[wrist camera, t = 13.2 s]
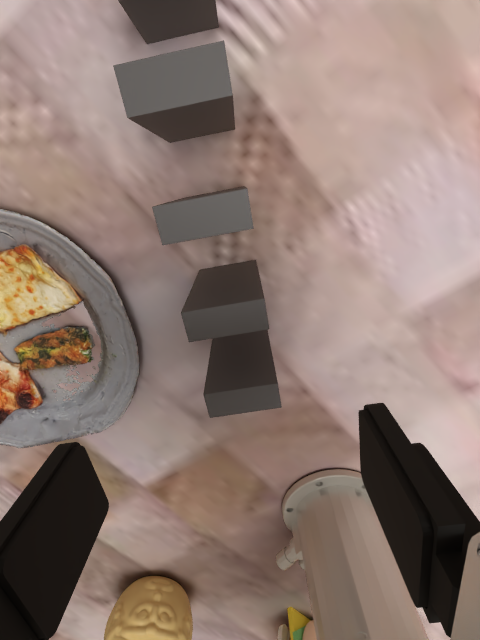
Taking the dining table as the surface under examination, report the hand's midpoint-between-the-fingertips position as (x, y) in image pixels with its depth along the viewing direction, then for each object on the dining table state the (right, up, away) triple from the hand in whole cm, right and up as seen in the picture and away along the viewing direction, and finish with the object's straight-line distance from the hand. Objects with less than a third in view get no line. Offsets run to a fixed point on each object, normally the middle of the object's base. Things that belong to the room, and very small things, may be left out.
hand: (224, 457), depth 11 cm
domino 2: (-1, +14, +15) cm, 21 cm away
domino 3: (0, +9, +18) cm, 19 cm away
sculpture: (-12, -36, +37) cm, 53 cm away
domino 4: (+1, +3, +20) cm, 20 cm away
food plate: (-22, +3, +20) cm, 30 cm away
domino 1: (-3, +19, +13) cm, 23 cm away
